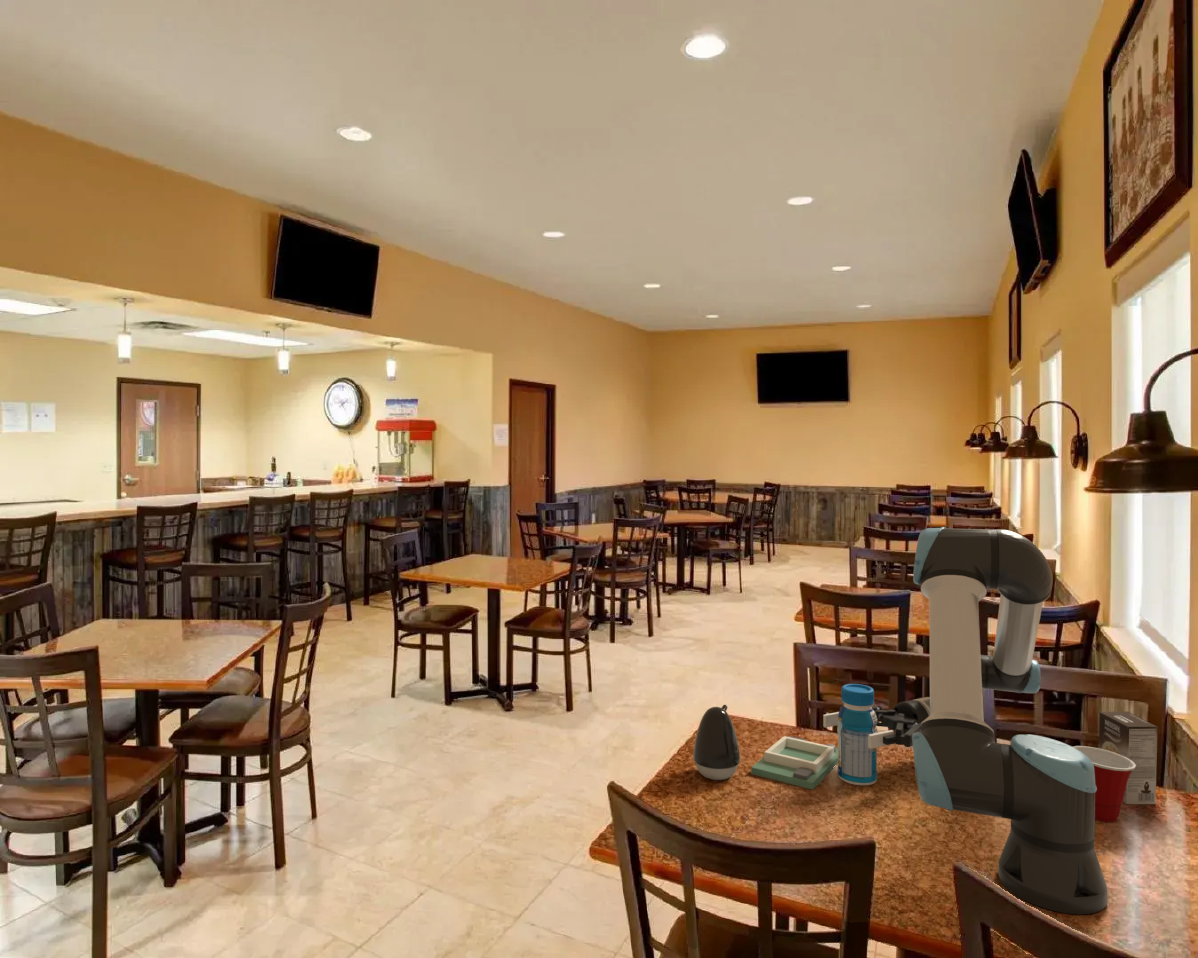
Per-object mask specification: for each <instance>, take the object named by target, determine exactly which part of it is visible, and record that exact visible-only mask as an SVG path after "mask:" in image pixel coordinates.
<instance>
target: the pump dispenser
mask: <svg viewBox="0 0 1198 958" xmlns="http://www.w3.org/2000/svg"><path fill="white" fill-rule="evenodd" d="M727 710H728V705H727V704H722V706H721V707H719V706H712V707H710V708H708V709H706V711H705V713H703V715H702V718H701V719H700V722H699V725H698V728H697V731H696V735H695V739H694V744H693V746H694V747H693V752H692V753H693V755H692V759H693V761H694V763H695V766H696V768H697V771H698V772H699V773H700V774H701V776H703V777H704V778H707V779H708V780H712V781H723V780H726V779H730V778H731V777H732V776H733V775H734V774H735V773H736V771H737V769H738V766H739V764H740V763H741V755H740V748H739V747H740V746H739V742H738V738H737V736H738V735H737V732H736V729H735V727H734V723H733V721H732V719H731V716H730V715H729V713H728V712H727Z"/></svg>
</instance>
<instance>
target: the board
mask: <svg viewBox="0 0 1198 958" xmlns="http://www.w3.org/2000/svg"><path fill="white" fill-rule="evenodd" d="M836 746H837V745H835V744H832V743H828V744H822V743H817V742H813V741H808V740H807V739H805V738H802V737H798V736H792V735H790V736H786V735H784V736H782V737H781V738H780V739H779V740H777V741H776V742H774V744H773V745H771V746H770V747H768V749H766V750H765V751H764V753H763V754H764V756H763V757H762V758H760V759H759V760H758V761H757V762H756V763H755V764H753V765H752V766H751V767H750V773H751V775H754V776H757V777H763V778H766V779H770V780H774V781H778V782H782V783H786V784H789V785H793V786H796V787H800V788H804V789H809V790H812V791H813V790H815V789H816V788H817V786H819V784H820V783H822V781H823V780H824V779H825V778H826V777H827V776H828V775H829V774H830V773H831V771H832V770H834V768H835V767H836V766H838V747H836ZM835 765H836V766H835ZM834 766H835V767H834ZM833 767H834V768H833ZM828 773H829V774H828ZM827 774H828V775H827ZM826 775H827V776H826ZM825 776H826V777H825Z"/></svg>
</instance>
